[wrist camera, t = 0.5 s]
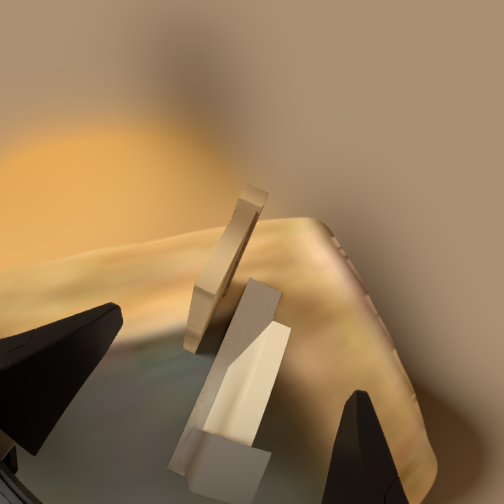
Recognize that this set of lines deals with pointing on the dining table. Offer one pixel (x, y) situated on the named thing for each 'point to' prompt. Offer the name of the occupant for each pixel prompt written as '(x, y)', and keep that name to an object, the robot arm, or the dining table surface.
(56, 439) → the dining table surface
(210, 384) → the track
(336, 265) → the dining table surface
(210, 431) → the door
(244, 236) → the wall
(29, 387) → the robot arm
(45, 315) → the dining table surface
